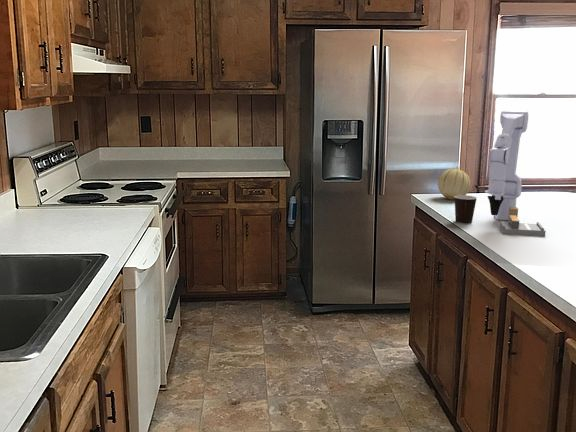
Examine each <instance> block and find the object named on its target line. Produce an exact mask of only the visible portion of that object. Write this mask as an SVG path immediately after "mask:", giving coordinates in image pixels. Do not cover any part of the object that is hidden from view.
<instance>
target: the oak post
mask: <svg viewBox="0 0 576 432" xmlns="http://www.w3.org/2000/svg"><path fill="white" fill-rule="evenodd" d="M509 215H516V216H517V218H519V217H518V215H519V208H518V207H517V206H516V207H509V214H508V220H507V223H509Z"/></svg>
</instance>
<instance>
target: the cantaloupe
mask: <svg viewBox="0 0 576 432" xmlns="http://www.w3.org/2000/svg"><path fill="white" fill-rule="evenodd" d="M437 182H438V183H437V188H438V191H439V193H440V194H441V195H442V196H443V198H446V199H448V200H454V196H458V195H467V194H468V193H469V191H470V189H471V179H470V176H469V175H468V173H466V172H465V171H464V170H462V169H460V168H459V167H458V166H456V168H449V169H446V170H445V171H443V172H442V173H441V175H440V176H439V178H438V180H437Z"/></svg>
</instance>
